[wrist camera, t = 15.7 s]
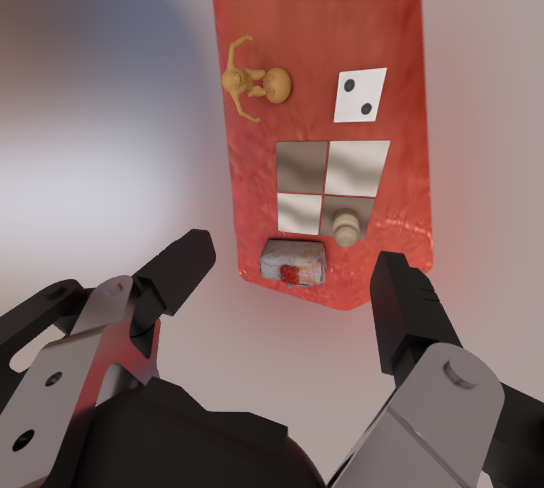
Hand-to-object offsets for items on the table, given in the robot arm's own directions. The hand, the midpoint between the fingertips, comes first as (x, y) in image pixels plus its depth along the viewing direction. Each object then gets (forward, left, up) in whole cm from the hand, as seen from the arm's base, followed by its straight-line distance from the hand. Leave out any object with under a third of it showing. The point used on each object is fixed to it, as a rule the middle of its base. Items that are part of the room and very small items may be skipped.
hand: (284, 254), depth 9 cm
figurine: (-9, -9, -29) cm, 32 cm away
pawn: (+12, +5, -29) cm, 31 cm away
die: (-7, +3, -29) cm, 30 cm away
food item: (+21, -4, -29) cm, 36 cm away
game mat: (+7, 0, -29) cm, 30 cm away
